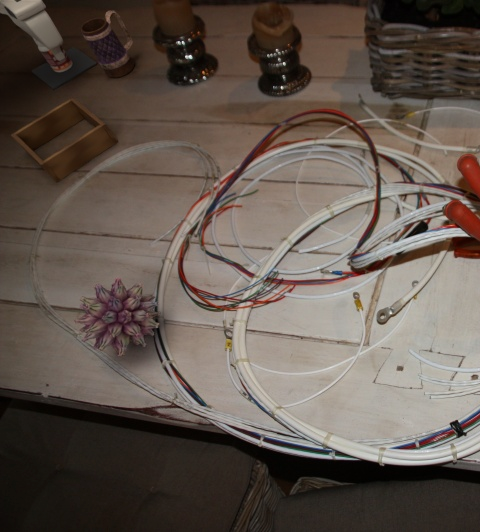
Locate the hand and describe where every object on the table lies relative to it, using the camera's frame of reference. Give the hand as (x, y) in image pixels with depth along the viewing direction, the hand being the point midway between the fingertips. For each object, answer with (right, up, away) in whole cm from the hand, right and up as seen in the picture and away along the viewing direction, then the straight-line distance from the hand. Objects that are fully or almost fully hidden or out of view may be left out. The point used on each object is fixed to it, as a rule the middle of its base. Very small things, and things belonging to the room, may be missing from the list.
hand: (52, 51), depth 130 cm
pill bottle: (+1, -2, +4) cm, 5 cm away
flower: (+41, -63, -42) cm, 86 cm away
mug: (+17, -3, +2) cm, 17 cm away
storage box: (+13, -26, -14) cm, 32 cm away
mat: (+1, -3, +4) cm, 5 cm away
